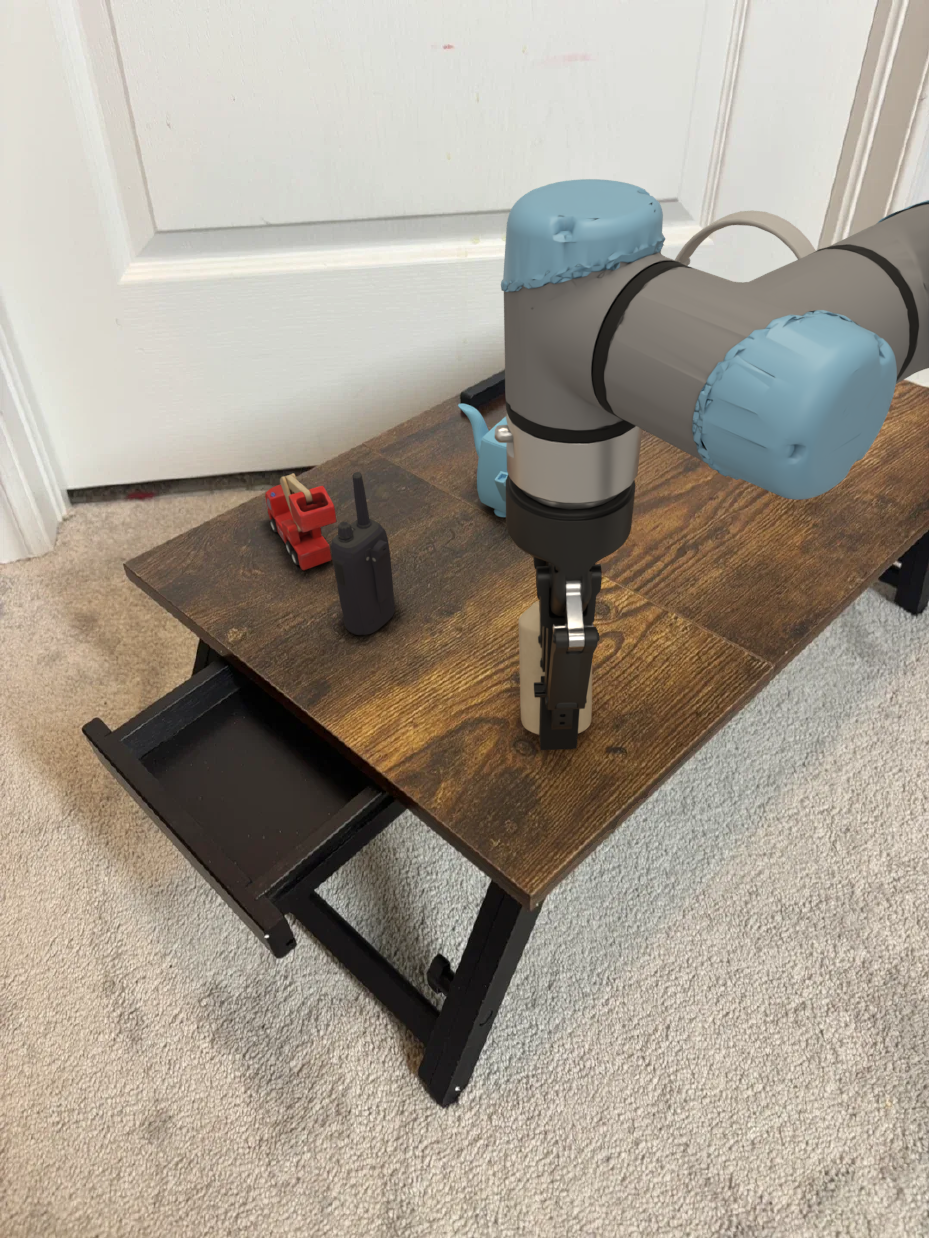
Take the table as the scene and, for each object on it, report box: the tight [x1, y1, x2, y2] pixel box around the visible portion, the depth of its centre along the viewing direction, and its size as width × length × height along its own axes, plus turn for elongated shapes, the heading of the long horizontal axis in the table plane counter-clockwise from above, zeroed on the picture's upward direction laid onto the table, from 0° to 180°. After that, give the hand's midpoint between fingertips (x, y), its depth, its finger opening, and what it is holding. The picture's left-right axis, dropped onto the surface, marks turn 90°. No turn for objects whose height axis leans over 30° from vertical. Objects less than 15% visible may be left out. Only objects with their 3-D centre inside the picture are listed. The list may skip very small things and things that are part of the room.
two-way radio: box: [330, 471, 396, 636], centre depth 78 cm, size 6×4×15 cm
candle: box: [518, 600, 593, 736], centre depth 71 cm, size 6×6×10 cm
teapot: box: [457, 403, 508, 518], centre depth 92 cm, size 18×14×10 cm
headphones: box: [674, 210, 817, 266], centre depth 107 cm, size 20×8×19 cm, turn 50°
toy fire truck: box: [264, 473, 337, 571], centre depth 88 cm, size 3×14×10 cm, turn 28°
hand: (557, 742), depth 69 cm, fingers closed
